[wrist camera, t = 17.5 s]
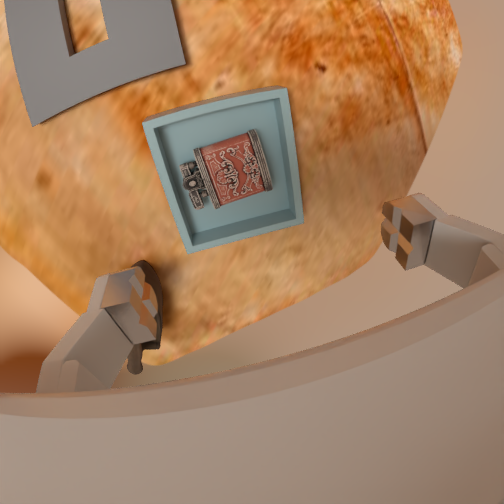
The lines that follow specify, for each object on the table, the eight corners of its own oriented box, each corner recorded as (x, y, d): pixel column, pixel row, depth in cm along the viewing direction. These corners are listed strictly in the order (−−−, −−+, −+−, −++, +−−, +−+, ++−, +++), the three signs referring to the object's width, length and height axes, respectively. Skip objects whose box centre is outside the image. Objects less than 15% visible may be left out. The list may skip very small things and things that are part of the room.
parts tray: (276, 85, 32) (287, 87, 28) (294, 209, 43) (304, 223, 39) (146, 117, 31) (141, 122, 28) (187, 237, 42) (187, 254, 39)
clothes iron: (172, 248, 42) (171, 316, 32) (160, 320, 51) (160, 385, 40) (119, 241, 40) (102, 308, 29) (117, 315, 48) (109, 379, 37)
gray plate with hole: (154, -76, 15) (153, -82, 13) (185, 64, 28) (185, 63, 26) (10, -10, 14) (3, -12, 12) (39, 123, 27) (32, 127, 25)
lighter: (251, 126, 34) (173, 154, 34) (257, 131, 31) (171, 161, 31) (268, 184, 38) (196, 209, 38) (275, 194, 35) (196, 221, 35)
